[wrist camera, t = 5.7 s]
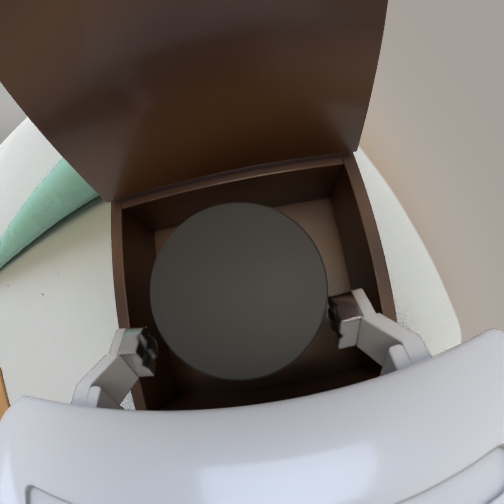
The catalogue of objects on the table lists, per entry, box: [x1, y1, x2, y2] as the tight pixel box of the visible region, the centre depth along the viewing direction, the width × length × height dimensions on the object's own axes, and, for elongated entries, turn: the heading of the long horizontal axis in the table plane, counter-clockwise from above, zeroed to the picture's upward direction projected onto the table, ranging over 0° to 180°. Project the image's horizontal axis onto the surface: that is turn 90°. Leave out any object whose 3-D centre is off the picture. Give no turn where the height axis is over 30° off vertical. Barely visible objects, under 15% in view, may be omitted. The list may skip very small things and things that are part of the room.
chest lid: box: [0, 0, 388, 202], centre depth 8 cm, size 14×15×1 cm
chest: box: [111, 152, 397, 411], centre depth 16 cm, size 14×15×6 cm
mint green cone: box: [0, 158, 99, 268], centre depth 19 cm, size 5×6×27 cm
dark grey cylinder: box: [150, 202, 328, 381], centre depth 14 cm, size 6×6×9 cm
